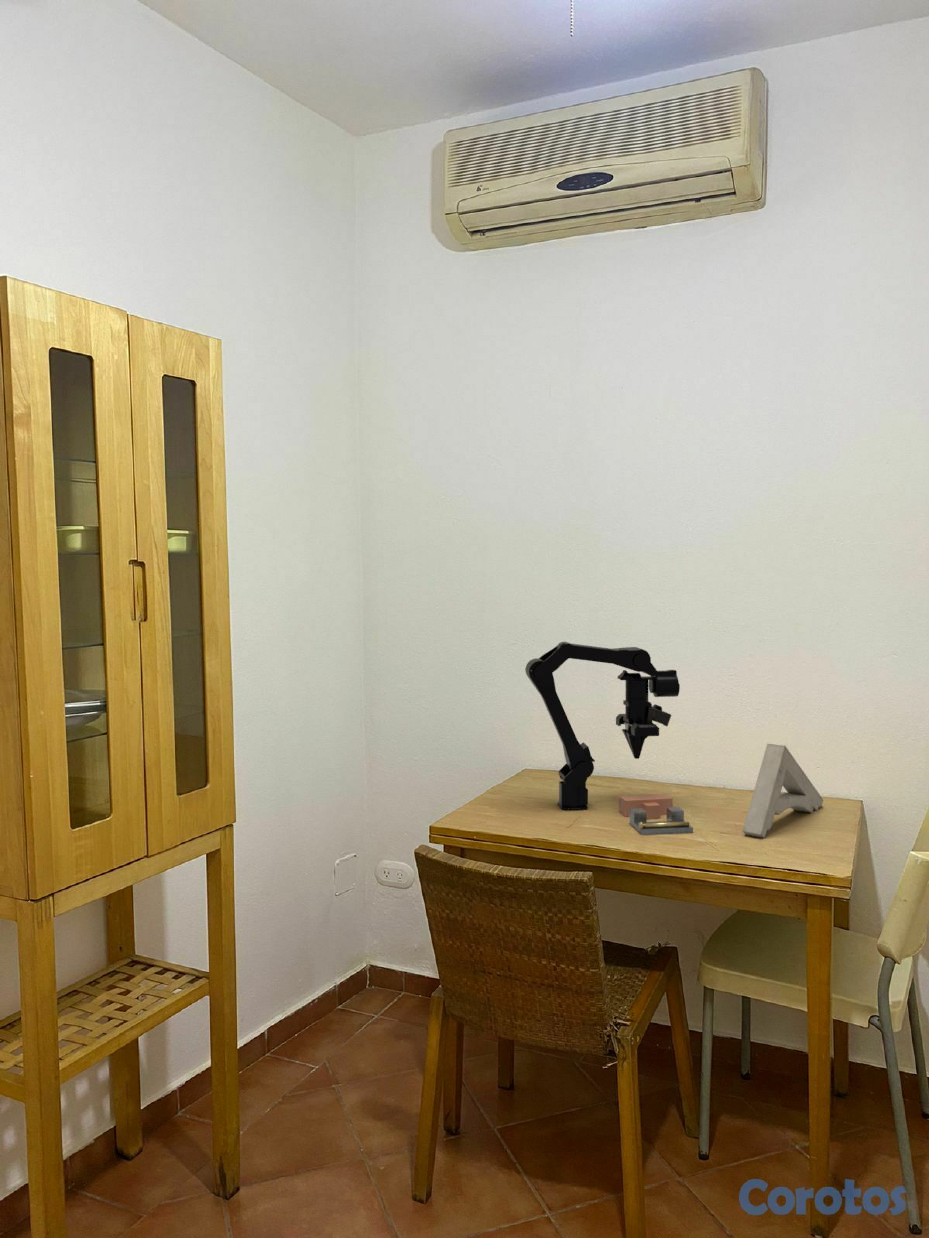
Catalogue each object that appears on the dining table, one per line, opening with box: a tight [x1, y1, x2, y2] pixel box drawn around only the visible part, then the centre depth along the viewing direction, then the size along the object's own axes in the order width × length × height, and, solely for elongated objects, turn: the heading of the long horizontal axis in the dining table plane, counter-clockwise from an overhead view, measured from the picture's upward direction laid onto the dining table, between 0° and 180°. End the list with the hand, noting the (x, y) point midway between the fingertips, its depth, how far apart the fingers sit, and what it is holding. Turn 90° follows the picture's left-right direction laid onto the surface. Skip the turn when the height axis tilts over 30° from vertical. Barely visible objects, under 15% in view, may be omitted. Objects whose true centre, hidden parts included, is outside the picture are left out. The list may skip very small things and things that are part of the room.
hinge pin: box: [639, 821, 690, 829], centre depth 226 cm, size 12×2×2 cm, turn 96°
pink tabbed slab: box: [618, 793, 674, 820], centre depth 242 cm, size 12×8×4 cm, turn 100°
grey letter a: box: [742, 743, 824, 839], centre depth 236 cm, size 22×4×30 cm
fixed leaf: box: [629, 806, 694, 836], centre depth 230 cm, size 12×10×4 cm
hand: (636, 758), depth 251 cm, fingers closed
